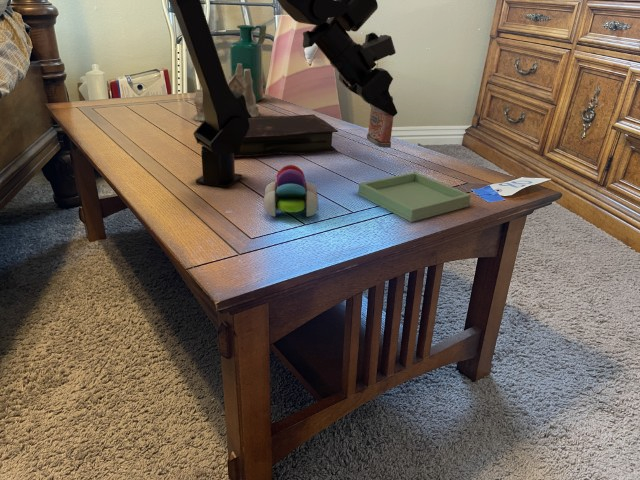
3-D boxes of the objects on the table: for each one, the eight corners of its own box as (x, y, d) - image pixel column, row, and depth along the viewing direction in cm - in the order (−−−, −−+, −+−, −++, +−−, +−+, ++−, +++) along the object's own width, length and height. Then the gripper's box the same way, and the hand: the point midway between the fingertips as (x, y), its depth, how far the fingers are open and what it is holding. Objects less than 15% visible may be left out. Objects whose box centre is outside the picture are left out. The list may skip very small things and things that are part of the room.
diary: (211, 137, 120) (210, 115, 118) (312, 132, 128) (313, 112, 126) (224, 160, 105) (223, 136, 102) (338, 153, 112) (339, 131, 110)
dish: (410, 222, 80) (412, 209, 80) (358, 194, 90) (358, 183, 90) (469, 206, 88) (471, 194, 87) (414, 182, 97) (415, 171, 97)
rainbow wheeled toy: (316, 200, 87) (317, 159, 84) (317, 223, 79) (319, 178, 75) (266, 198, 87) (266, 157, 84) (262, 222, 78) (262, 177, 75)
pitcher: (229, 101, 158) (226, 24, 148) (239, 96, 165) (237, 22, 155) (259, 103, 156) (258, 26, 146) (268, 99, 163) (268, 24, 154)
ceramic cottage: (266, 112, 144) (261, 57, 137) (244, 128, 130) (238, 67, 123) (215, 111, 148) (208, 56, 141) (189, 126, 134) (180, 66, 127)
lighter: (363, 137, 108) (368, 89, 104) (377, 137, 109) (383, 89, 105) (379, 147, 101) (385, 96, 97) (394, 147, 103) (401, 96, 98)
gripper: (388, 21, 86) (438, 90, 93) (359, 15, 103) (403, 74, 110) (339, 68, 88) (392, 132, 95) (318, 55, 104) (364, 110, 111)
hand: (388, 110), depth 103 cm, fingers closed on lighter, 8 cm apart
